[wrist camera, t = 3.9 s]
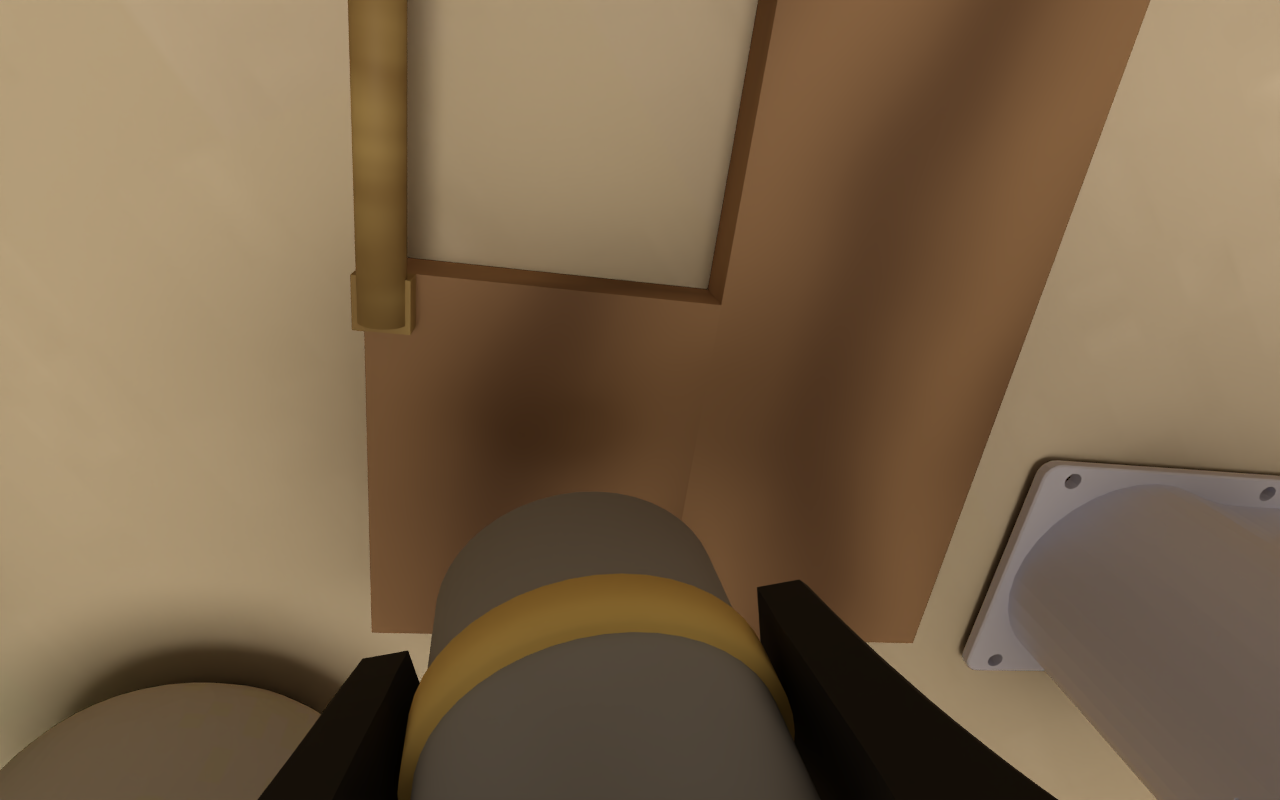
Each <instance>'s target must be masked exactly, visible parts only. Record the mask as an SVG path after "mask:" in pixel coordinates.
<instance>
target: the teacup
mask: <svg viewBox="0 0 1280 800" xmlns="http://www.w3.org/2000/svg"><path fill="white" fill-rule="evenodd" d="M320 715H321V714H320V713H318V712H317V711H315V710H313V709H312V708H310V707H308V706H306V705H304V704H302V703H299V702H297V701H295V700H293V699H290V698H288V697H286V696H284V695H281V694H278V693H275V692H272V691H269V690H266V689H261V688H256V687H252V686H247V685H235V684H223V683H180V684H168V685H162V686H157V687H151V688H146V689H141V690H137V691H133V692H129V693H126V694H122V695H118V696H115V697H113V698H110V699H108V700H105V701H103V702H100V703H97V704H95V705H92V706H90V707H88V708H86V709H84V710H82V711H80V712H78V713H76V714H74V715H72V716H70V717H69V718H67V719H65V720H63V721H62V722H60V723H59V724H57V725H55V726H54V727H52V728H51V729H49V730H48V731H46V732H45V733H44V734H42V735H41V736H40V737H38V738H37V739H36V740H34V741H33V742H32V743H31V744H29V745H28V746H27V747H25V748H24V749H23V750H22V751H21V752H19V753H18V754H17V755H16V756H15V757H14V758H13V759H12V760H11V761H10V762H9V763H7V764H6V765H5V766H4V767H3V768H2V769H1V770H0V800H257V799H258V798H259V797H260V795H261V794H262V793H263V792H264V790H265V789H266V788H267V786H268V785H269V784H270V782H271V781H272V780H273V778H274V777H275V776H276V774H277V773H278V772H279V771H280V769H281V768H282V767H283V765H284V764H285V763H286V761H287V760H288V759H289V757H290V756H291V755H292V753H293V752H294V751H295V749H296V748H297V747H298V745H299V744H300V743H301V741H302V740H303V738H304V737H305V736H306V734H307V733H308V732H309V730H310V729H311V728H312V726H313V725H314V724H315V722H316V721H317V719H318V718H319V717H320Z"/></svg>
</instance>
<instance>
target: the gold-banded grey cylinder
mask: <svg viewBox="0 0 1280 800" xmlns="http://www.w3.org/2000/svg"><path fill="white" fill-rule="evenodd" d="M794 736H795V728H794V720H793V713H792V710H791V707H790V704H789V700H788V697H787V695H786V693H785V691H784V689H783V687H782V685H781V683H780V681H779V679H778V676H777V674H776V672H775V670H774V668H773V666H772V664H771V662H770V660H769V658H768V656H767V654H766V652H765V650H764V648H763V646H762V644H761V642H760V640H759V638H758V637H757V635H756V633H755V632H754V630H753V629H752V628H751V627H750V625H749V624H748V623H747V622H746V620H745V619H744V618H743V617H742V616H741V615H740V614H739V613H737V612H736V611H735V610H734V609H733V608H732V606H731V603H730V601H729V599H728V597H727V595H726V593H725V590H724V588H723V586H722V584H721V582H720V580H719V577H718V575H717V573H716V571H715V569H714V567H713V564H712V562H711V560H710V558H709V556H708V554H707V552H706V550H705V548H704V546H703V545H702V543H701V541H700V540H699V539H698V538H697V536H696V535H695V534H694V532H693V531H692V530H691V529H690V528H689V527H688V526H687V525H686V524H684V523H683V522H682V521H681V520H680V519H679V518H677V517H676V516H674V515H673V514H671V513H670V512H668V511H667V510H665V509H663V508H661V507H659V506H657V505H655V504H653V503H651V502H648V501H645V500H642V499H639V498H636V497H633V496H628V495H623V494H618V493H609V492H597V491H596V492H574V493H567V494H560V495H555V496H551V497H547V498H543V499H540V500H536V501H534V502H531V503H529V504H526V505H523V506H521V507H518V508H516V509H514V510H512V511H511V512H509V513H507V514H505V515H503V516H501V517H499V518H498V519H496V520H495V521H494V522H492V523H491V524H489V525H488V526H486V527H485V528H484V529H482V530H481V531H480V532H479V533H478V534H477V535H476V536H474V537H473V538H472V539H471V540H470V541H469V542H468V543H467V544H466V546H465V547H464V548H463V549H462V550H461V551H460V552H459V554H458V555H457V556H456V558H455V559H454V561H453V562H452V564H451V565H450V567H449V569H448V571H447V573H446V575H445V577H444V579H443V581H442V583H441V587H440V590H439V594H438V597H437V602H436V609H435V617H434V624H433V632H432V640H431V647H430V655H429V662H428V670H427V671H426V673H425V674H424V676H423V678H422V680H421V682H420V684H419V686H418V688H417V690H416V692H415V694H414V697H413V701H412V704H411V708H410V711H409V715H408V722H407V728H406V735H405V741H404V748H403V754H402V761H401V767H400V774H399V783H398V793H397V794H398V800H821V799H820V797H819V795H818V793H817V790H816V788H815V786H814V784H813V782H812V780H811V777H810V775H809V773H808V771H807V769H806V767H805V764H804V762H803V760H802V758H801V756H800V754H799V751H798V749H797V747H796V745H795V743H794Z"/></svg>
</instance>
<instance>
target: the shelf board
mask: <svg viewBox="0 0 1280 800" xmlns="http://www.w3.org/2000/svg"><path fill="white" fill-rule="evenodd" d="M1149 3H1150V0H759V1H758V7H757V12H756V18H755V24H754V29H753V35H752V41H751V47H750V52H749V58H748V64H747V69H746V75H745V81H744V87H743V92H742V98H741V104H740V109H739V115H738V121H737V126H736V132H735V138H734V144H733V149H732V155H731V161H730V166H729V172H728V178H727V184H726V189H725V195H724V201H723V206H722V212H721V218H720V224H719V229H718V235H717V241H716V246H715V252H714V258H713V264H712V269H711V275H710V281H709V286H708V289H699V288H689V287H680V286H670V285H661V284H651V283H642V282H632V281H623V280H613V279H604V278H594V277H585V276H575V275H566V274H556V273H547V272H537V271H528V270H518V269H509V268H500V267H490V266H481V265H471V264H462V263H452V262H443V261H433V260H424V259H414V258H407V0H348V20H349V55H350V89H351V124H352V159H353V193H354V228H355V262H356V270H355V271H354V272H353V273H352V274H351V275H350V281H351V312H352V330H357V331H364V337H365V377H366V417H367V458H368V498H369V538H370V579H371V619H372V632H374V633H425V634H432V632H433V624H434V617H435V609H436V602H437V597H438V594H439V590H440V587H441V583H442V581H443V579H444V577H445V575H446V573H447V571H448V569H449V567H450V565H451V564H452V562H453V561H454V559H455V558H456V556H457V555H458V554H459V552H460V551H461V550H462V549H463V548H464V547H465V546H466V544H467V543H468V542H469V541H470V540H471V539H472V538H473V537H474V536H476V535H477V534H478V533H479V532H480V531H481V530H482V529H484V528H485V527H486V526H488V525H489V524H491V523H492V522H494V521H495V520H496V519H498V518H499V517H501V516H503V515H505V514H507V513H509V512H511V511H512V510H514V509H516V508H518V507H521V506H523V505H526V504H529V503H531V502H534V501H536V500H540V499H543V498H547V497H551V496H555V495H560V494H567V493H574V492H596V491H597V492H609V493H618V494H623V495H628V496H633V497H636V498H639V499H642V500H645V501H648V502H651V503H653V504H655V505H657V506H659V507H661V508H663V509H665V510H667V511H668V512H670V513H671V514H673V515H674V516H676V517H677V518H679V519H680V520H681V521H682V522H683V523H684V524H686V525H687V526H688V527H689V528H690V529H691V530H692V531H693V532H694V534H695V535H696V536H697V538H698V539H699V540H700V541H701V543H702V545H703V546H704V548H705V550H706V552H707V554H708V556H709V558H710V560H711V562H712V564H713V567H714V569H715V571H716V573H717V575H718V577H719V580H720V582H721V584H722V586H723V588H724V590H725V593H726V595H727V597H728V599H729V601H730V603H731V606H732V608H733V609H734V610H735V611H736V612H737V613H739V614H740V615H741V616H742V617H743V618H744V619H745V620H746V622H747V623H748V624H749V625H750V627H751V628H752V629H753V630H754V632H755V633H756V635H757V637H758V638H759V640H760V628H759V613H758V598H757V587H760V586H766V585H771V584H777V583H782V582H788V581H793V580H799V579H800V580H801V581H802V582H804V583H805V584H807V585H808V586H809V587H810V588H811V589H812V590H813V591H814V592H815V593H816V594H817V595H818V596H819V597H820V598H821V599H822V600H823V602H824V603H825V604H826V605H827V606H828V607H829V608H830V609H831V610H832V611H833V612H834V613H835V614H836V615H837V616H839V617H840V618H841V619H842V620H843V621H844V622H845V623H846V624H847V625H848V626H849V627H850V628H851V629H852V630H853V631H854V632H855V633H856V634H857V635H858V636H859V637H860V638H861V639H862V640H863V641H864V642H886V643H913V641H914V638H915V635H916V633H917V630H918V627H919V625H920V622H921V619H922V616H923V614H924V611H925V608H926V606H927V603H928V600H929V598H930V595H931V592H932V589H933V587H934V584H935V581H936V579H937V576H938V573H939V570H940V568H941V565H942V562H943V560H944V557H945V554H946V552H947V549H948V546H949V543H950V541H951V538H952V535H953V533H954V530H955V527H956V525H957V522H958V519H959V516H960V514H961V511H962V508H963V506H964V503H965V500H966V497H967V495H968V492H969V489H970V487H971V484H972V481H973V479H974V476H975V473H976V470H977V468H978V465H979V462H980V460H981V457H982V454H983V451H984V449H985V446H986V443H987V441H988V438H989V435H990V433H991V430H992V427H993V424H994V422H995V419H996V416H997V414H998V411H999V408H1000V406H1001V403H1002V400H1003V397H1004V395H1005V392H1006V389H1007V387H1008V384H1009V381H1010V378H1011V376H1012V373H1013V370H1014V368H1015V365H1016V362H1017V360H1018V357H1019V354H1020V351H1021V349H1022V346H1023V343H1024V341H1025V338H1026V335H1027V332H1028V330H1029V327H1030V324H1031V322H1032V319H1033V316H1034V314H1035V311H1036V308H1037V305H1038V303H1039V300H1040V297H1041V295H1042V292H1043V289H1044V287H1045V284H1046V281H1047V278H1048V276H1049V273H1050V270H1051V268H1052V265H1053V262H1054V259H1055V257H1056V254H1057V251H1058V249H1059V246H1060V243H1061V241H1062V238H1063V235H1064V232H1065V230H1066V227H1067V224H1068V222H1069V219H1070V216H1071V213H1072V211H1073V208H1074V205H1075V203H1076V200H1077V197H1078V195H1079V192H1080V189H1081V186H1082V184H1083V181H1084V178H1085V176H1086V173H1087V170H1088V167H1089V165H1090V162H1091V159H1092V157H1093V154H1094V151H1095V149H1096V146H1097V143H1098V140H1099V138H1100V135H1101V132H1102V130H1103V127H1104V124H1105V122H1106V119H1107V116H1108V113H1109V111H1110V108H1111V105H1112V103H1113V100H1114V97H1115V94H1116V92H1117V89H1118V86H1119V84H1120V81H1121V78H1122V76H1123V73H1124V70H1125V67H1126V65H1127V62H1128V59H1129V57H1130V54H1131V51H1132V48H1133V46H1134V43H1135V40H1136V38H1137V35H1138V32H1139V30H1140V27H1141V24H1142V21H1143V19H1144V16H1145V13H1146V11H1147V8H1148V5H1149Z"/></svg>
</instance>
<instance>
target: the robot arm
mask: <svg viewBox="0 0 1280 800" xmlns="http://www.w3.org/2000/svg"><path fill="white" fill-rule="evenodd" d="M1070 475H1072V476H1071V477H1070V478H1069V479H1068V480H1067V481H1065V480H1066V479H1067V478H1068V477H1069V476H1070ZM757 598H758V613H759V628H760V642H761V644H762V646H763V648H764V650H765V652H766V654H767V656H768V658H769V660H770V662H771V664H772V666H773V668H774V670H775V672H776V674H777V676H778V679H779V681H780V683H781V685H782V687H783V689H784V691H785V693H786V695H787V697H788V700H789V704H790V707H791V710H792V713H793V720H794V728H795V736H794V743H795V745H796V747H797V749H798V751H799V754H800V756H801V758H802V760H803V762H804V764H805V767H806V769H807V771H808V773H809V775H810V777H811V780H812V782H813V784H814V786H815V788H816V790H817V793H818V795H819V797H820V799H821V800H1058V799H1056V798H1055V797H1054V796H1052V795H1051V794H1049V793H1048V792H1047V791H1045V790H1044V789H1042V788H1041V787H1040V786H1038V785H1037V784H1035V783H1034V782H1033V781H1031V780H1030V779H1029V778H1027V777H1026V776H1025V775H1023V774H1022V773H1021V772H1019V771H1018V770H1017V769H1015V768H1014V767H1013V766H1011V765H1010V764H1009V763H1007V762H1006V761H1005V760H1004V759H1002V758H1001V757H1000V756H998V755H997V754H996V753H994V752H993V751H992V750H991V749H989V748H988V747H987V746H986V745H984V744H983V743H982V742H981V741H979V740H978V739H977V738H976V737H974V736H973V735H972V734H970V733H969V732H968V731H967V730H965V729H964V728H963V727H962V726H960V725H959V724H958V723H957V722H955V721H954V720H953V719H952V718H951V717H949V716H948V715H947V714H946V713H945V712H943V711H942V710H941V709H940V708H939V707H937V706H936V705H935V704H934V703H933V702H932V701H930V700H929V699H928V698H927V697H926V696H925V695H923V694H922V693H921V692H920V691H919V690H918V689H917V688H915V687H914V686H913V685H912V684H911V683H910V682H909V681H908V680H906V679H905V678H904V677H903V676H902V675H901V674H900V673H898V672H897V671H896V670H895V669H894V668H893V667H892V666H890V665H889V664H888V663H887V662H886V661H885V660H884V659H883V658H882V657H881V656H879V655H878V654H877V653H876V652H875V651H874V650H873V649H872V648H871V647H870V646H869V645H868V644H867V643H866V642H864V641H863V640H862V639H861V638H860V637H859V636H858V635H857V634H856V633H855V632H854V631H853V630H852V629H851V628H850V627H849V626H848V625H847V624H846V623H845V622H844V621H843V620H842V619H841V618H840V617H839V616H837V615H836V614H835V613H834V612H833V611H832V610H831V609H830V608H829V607H828V606H827V605H826V604H825V603H824V602H823V600H822V599H821V598H820V597H819V596H818V595H817V594H816V593H815V592H814V591H813V590H812V589H811V588H810V587H809V586H808V585H807V584H805V583H804V582H802V581H801V580H800V579H799V580H793V581H788V582H782V583H777V584H771V585H766V586H760V587H757ZM962 657H963V660H964V661H965V663H966V664H967V665H968V667H969V668H971V669H973V670H1009V671H1046V672H1047V673H1048V675H1049V676H1050V677H1051V678H1052V679H1053V680H1054V682H1055V683H1056V684H1057V685H1058V686H1059V687H1060V688H1061V690H1062V691H1063V692H1064V693H1065V694H1066V695H1067V696H1068V698H1069V699H1070V700H1071V701H1072V702H1073V703H1074V704H1075V706H1076V707H1077V708H1078V709H1079V710H1080V711H1081V713H1082V714H1083V715H1084V716H1085V717H1086V718H1087V719H1088V721H1089V722H1090V723H1091V724H1092V725H1093V726H1094V727H1095V729H1096V730H1097V731H1098V732H1099V733H1100V734H1101V735H1102V737H1103V738H1104V739H1105V740H1106V741H1107V742H1108V744H1109V745H1110V746H1111V747H1112V748H1113V749H1114V750H1115V752H1116V753H1117V754H1118V755H1119V756H1120V757H1121V758H1122V760H1123V761H1124V762H1125V763H1126V764H1127V765H1128V766H1129V768H1130V769H1131V770H1132V771H1133V772H1134V773H1135V775H1136V776H1137V777H1138V778H1139V779H1140V780H1141V781H1142V783H1143V784H1144V785H1145V786H1146V787H1147V788H1148V789H1149V791H1150V792H1151V793H1152V794H1153V795H1154V796H1155V797H1156V799H1157V800H1280V476H1276V475H1262V474H1247V473H1233V472H1219V471H1204V470H1190V469H1175V468H1161V467H1147V466H1132V465H1118V464H1103V463H1089V462H1075V461H1060V460H1055V461H1049V462H1047V463H1045V464H1043V465H1042V466H1041V467H1040V468H1039V469H1038V471H1037V473H1036V475H1035V477H1034V480H1033V482H1032V484H1031V487H1030V489H1029V492H1028V494H1027V497H1026V499H1025V502H1024V504H1023V506H1022V509H1021V511H1020V514H1019V516H1018V519H1017V521H1016V524H1015V526H1014V528H1013V531H1012V533H1011V536H1010V538H1009V541H1008V543H1007V546H1006V548H1005V550H1004V553H1003V555H1002V558H1001V560H1000V563H999V565H998V568H997V570H996V572H995V575H994V577H993V580H992V582H991V585H990V587H989V590H988V592H987V594H986V597H985V599H984V602H983V604H982V607H981V609H980V612H979V614H978V616H977V619H976V621H975V624H974V626H973V629H972V631H971V634H970V636H969V638H968V641H967V643H966V646H965V648H964V651H963V654H962ZM419 684H420V683H419V680H418V677H417V675H416V672H415V669H414V666H413V663H412V660H411V658H410V655H409V652H408V651H403V652H398V653H392V654H387V655H381V656H376V657H370V658H365V659H362V660H361V662H360V663H359V664H358V666H357V667H356V668H355V670H354V671H353V672H352V674H351V675H350V676H349V677H348V679H347V680H346V681H345V683H344V684H343V685H342V687H341V688H340V689H339V691H338V692H337V694H336V695H335V696H334V698H333V699H332V700H331V702H330V703H329V704H328V706H327V707H326V709H325V710H324V711H323V713H322V714H321V715H320V717H319V718H318V719H317V721H316V722H315V724H314V725H313V726H312V728H311V729H310V730H309V732H308V733H307V734H306V736H305V737H304V738H303V740H302V741H301V743H300V744H299V745H298V747H297V748H296V749H295V751H294V752H293V753H292V755H291V756H290V757H289V759H288V760H287V761H286V763H285V764H284V765H283V767H282V768H281V769H280V771H279V772H278V773H277V774H276V776H275V777H274V778H273V780H272V781H271V782H270V784H269V785H268V786H267V788H266V789H265V790H264V792H263V793H262V794H261V795H260V797H259V798H258V799H257V800H398V794H397V793H398V783H399V774H400V767H401V761H402V754H403V748H404V741H405V735H406V728H407V722H408V715H409V711H410V708H411V704H412V701H413V697H414V694H415V692H416V690H417V688H418V686H419Z"/></svg>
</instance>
